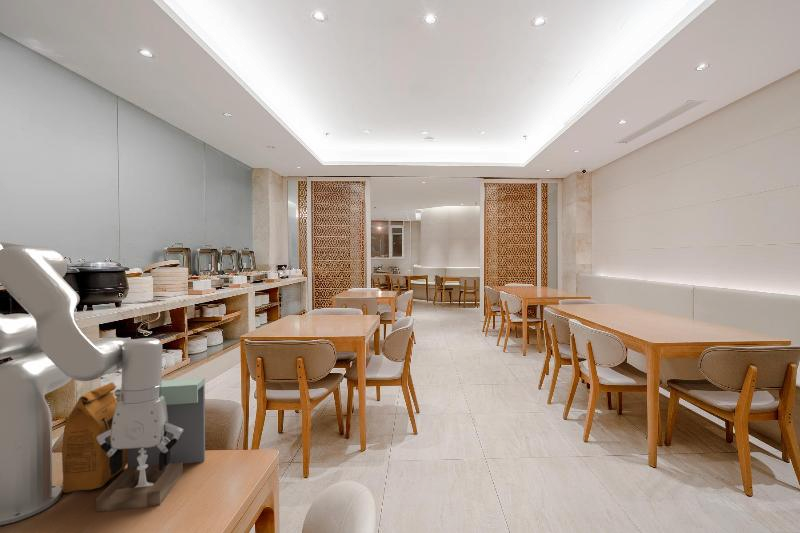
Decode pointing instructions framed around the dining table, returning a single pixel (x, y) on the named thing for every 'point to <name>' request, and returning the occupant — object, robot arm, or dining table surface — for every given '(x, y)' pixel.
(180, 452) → the grey green box
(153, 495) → the socket block
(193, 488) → the dining table surface
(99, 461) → the coffee package
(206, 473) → the dining table surface
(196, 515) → the dining table surface
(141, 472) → the chess piece
